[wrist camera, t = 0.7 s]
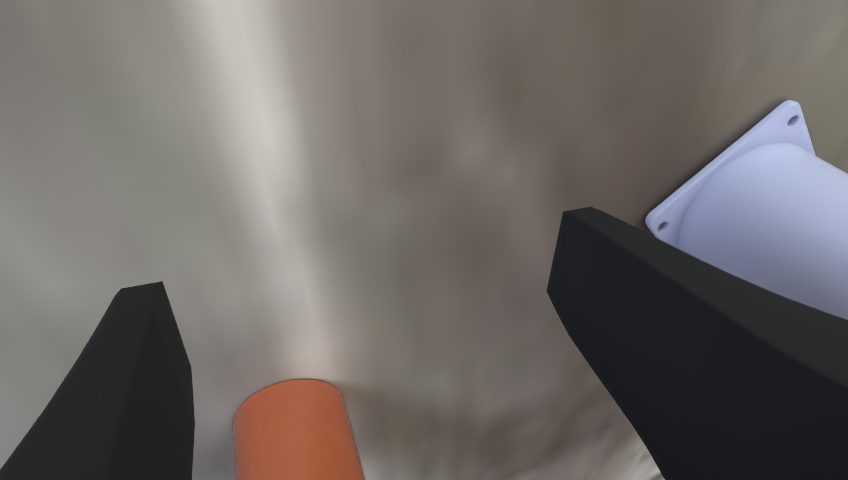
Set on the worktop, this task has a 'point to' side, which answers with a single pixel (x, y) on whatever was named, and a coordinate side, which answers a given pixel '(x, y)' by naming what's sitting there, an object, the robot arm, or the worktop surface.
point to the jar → (295, 434)
